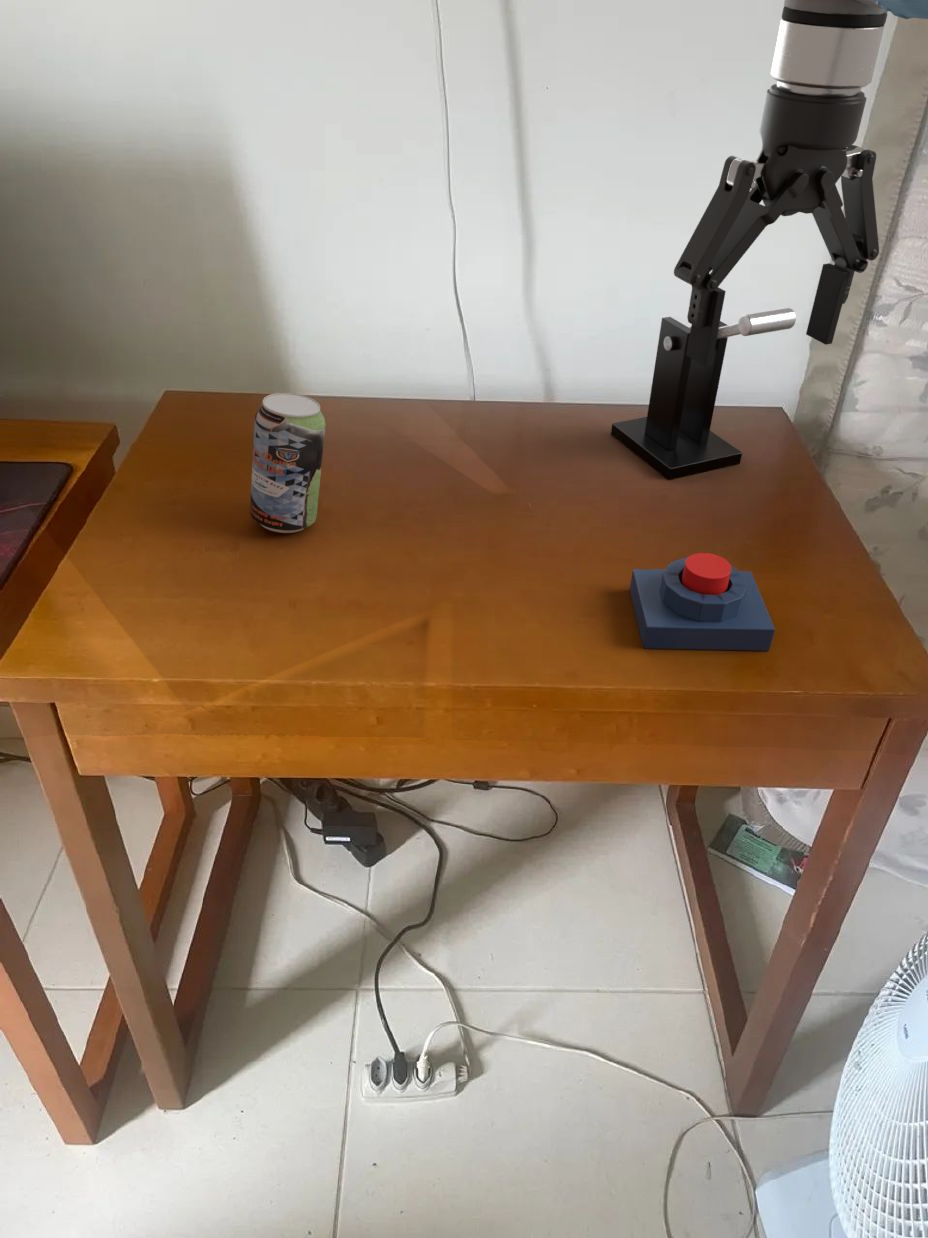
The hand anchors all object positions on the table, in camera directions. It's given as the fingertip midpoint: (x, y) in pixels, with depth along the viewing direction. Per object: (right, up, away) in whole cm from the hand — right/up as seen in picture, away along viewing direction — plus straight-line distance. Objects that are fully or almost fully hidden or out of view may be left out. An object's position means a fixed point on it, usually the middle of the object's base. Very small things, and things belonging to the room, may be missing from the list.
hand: (760, 349), depth 89 cm
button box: (-8, -24, -9) cm, 27 cm away
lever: (-2, +2, +4) cm, 5 cm away
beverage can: (-43, -16, +2) cm, 46 cm away
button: (-8, -22, -11) cm, 25 cm away
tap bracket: (-5, -6, +16) cm, 17 cm away
